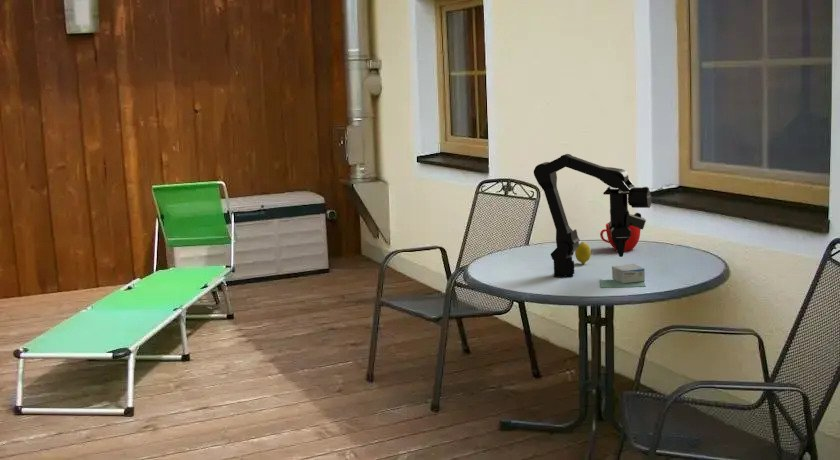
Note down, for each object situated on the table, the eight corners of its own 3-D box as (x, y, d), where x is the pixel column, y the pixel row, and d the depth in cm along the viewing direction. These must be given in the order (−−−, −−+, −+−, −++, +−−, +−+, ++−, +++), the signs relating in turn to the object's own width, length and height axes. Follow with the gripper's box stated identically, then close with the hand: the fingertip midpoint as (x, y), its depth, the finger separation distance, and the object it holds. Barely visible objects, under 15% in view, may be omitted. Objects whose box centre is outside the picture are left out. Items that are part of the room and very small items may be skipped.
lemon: (580, 266, 344) (580, 244, 342) (572, 263, 349) (571, 241, 348) (594, 264, 346) (593, 242, 344) (585, 261, 351) (585, 240, 350)
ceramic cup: (591, 250, 370) (590, 225, 368) (627, 245, 377) (626, 219, 375) (611, 255, 358) (610, 229, 357) (648, 249, 365) (647, 223, 363)
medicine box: (611, 278, 320) (622, 284, 312) (611, 265, 319) (622, 270, 311) (634, 276, 322) (645, 281, 313) (633, 263, 321) (644, 268, 312)
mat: (600, 287, 310) (600, 287, 309) (599, 280, 320) (599, 279, 320) (645, 286, 307) (645, 286, 307) (643, 279, 318) (643, 278, 317)
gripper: (646, 210, 308) (647, 258, 310) (641, 202, 326) (642, 247, 329) (610, 212, 309) (612, 260, 312) (607, 203, 328) (609, 249, 330)
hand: (620, 254), depth 321 cm, fingers open, 9 cm apart
